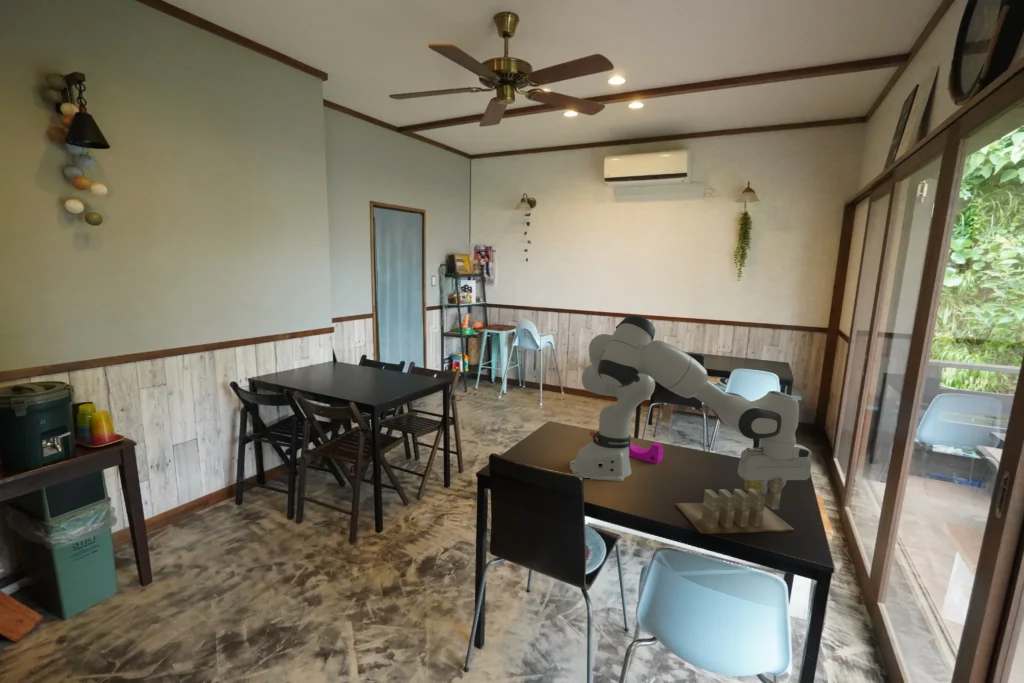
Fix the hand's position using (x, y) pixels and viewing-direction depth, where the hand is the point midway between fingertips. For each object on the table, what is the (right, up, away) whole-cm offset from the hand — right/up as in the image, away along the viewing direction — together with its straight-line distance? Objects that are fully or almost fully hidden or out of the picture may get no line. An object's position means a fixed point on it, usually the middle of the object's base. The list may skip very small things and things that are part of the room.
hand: (771, 493), depth 133 cm
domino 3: (-9, -9, +1) cm, 13 cm away
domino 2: (-14, -9, 0) cm, 16 cm away
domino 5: (0, -4, 0) cm, 4 cm away
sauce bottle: (+5, -7, +19) cm, 21 cm away
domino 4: (-5, -9, +1) cm, 10 cm away
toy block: (-24, -2, +48) cm, 54 cm away
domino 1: (-18, -9, 0) cm, 20 cm away
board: (-9, -9, +4) cm, 13 cm away
